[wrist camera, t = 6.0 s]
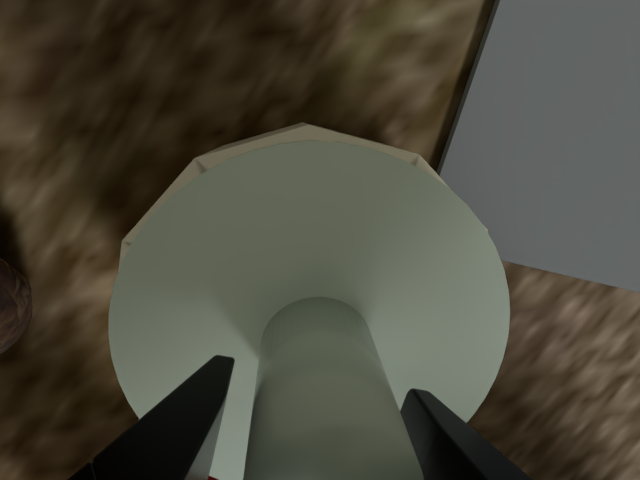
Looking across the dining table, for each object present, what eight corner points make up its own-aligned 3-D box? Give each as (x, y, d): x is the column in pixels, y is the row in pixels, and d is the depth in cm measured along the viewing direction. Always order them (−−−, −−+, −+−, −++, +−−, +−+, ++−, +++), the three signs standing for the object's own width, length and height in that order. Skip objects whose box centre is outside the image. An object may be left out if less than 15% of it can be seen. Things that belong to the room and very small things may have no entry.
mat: (830, 0, 14) (845, -4, 13) (662, 295, 17) (671, 299, 17) (535, -118, 12) (543, -126, 12) (413, 237, 15) (416, 240, 15)
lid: (547, 193, 10) (787, 263, 5) (424, 482, 13) (505, 702, 8) (147, 91, 8) (-37, 58, 4) (109, 443, 11) (-22, 681, 6)
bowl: (469, 166, 15) (556, 190, 10) (388, 388, 17) (424, 489, 13) (194, 92, 13) (139, 79, 8) (155, 349, 16) (98, 447, 11)
